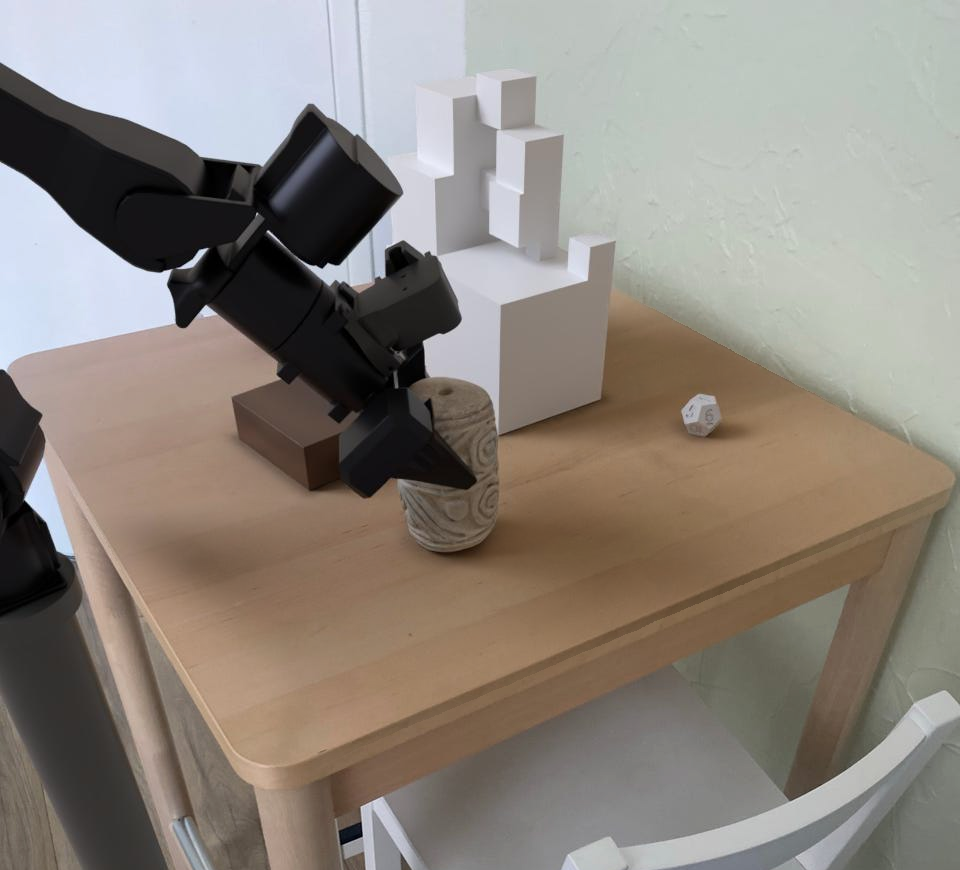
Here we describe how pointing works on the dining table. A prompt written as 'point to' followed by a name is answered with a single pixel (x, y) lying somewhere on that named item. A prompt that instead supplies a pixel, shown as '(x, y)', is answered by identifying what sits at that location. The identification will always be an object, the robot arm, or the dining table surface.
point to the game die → (701, 415)
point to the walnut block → (292, 430)
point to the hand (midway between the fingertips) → (468, 461)
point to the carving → (473, 436)
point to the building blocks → (504, 248)
